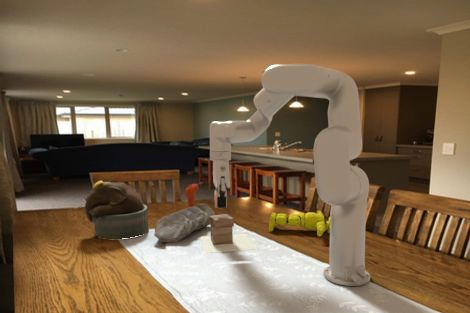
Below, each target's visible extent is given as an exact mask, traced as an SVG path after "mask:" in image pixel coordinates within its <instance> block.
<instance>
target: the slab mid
mask: <svg viewBox="0 0 470 313" xmlns="http://www.w3.org/2000/svg"><path fill="white" fill-rule="evenodd" d="M211 233H212V235H213V237H216V236H232V235H234V234H233V227H226V228H218V229H215V228H214V227H212V226H211V225H210V234H211Z"/></svg>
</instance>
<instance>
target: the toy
mask: <svg viewBox="0 0 470 313" xmlns="http://www.w3.org/2000/svg"><path fill="white" fill-rule="evenodd" d="M325 219H326V218H325V216H324V214H323V212H322V211H321V210H317V211H316V212H310V211H309V212H306V213H305V212H300V213H292V214H289V215H287V214H286V213H276V212H272V213H271V214H270V218H269V222H268V223H269V226H268V232H271V233H272V232H273V231H274V228H275V227H276V225H281V226H285V225H286V226H291V227H293V226H294V227H297V226H300V227H304V229H306V230H308V231H316V232H317V233H316V235H317V237H321V236H323V234H324V232H326V233H328V234H330V216H329V217H328V220H327V221H325Z"/></svg>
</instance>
